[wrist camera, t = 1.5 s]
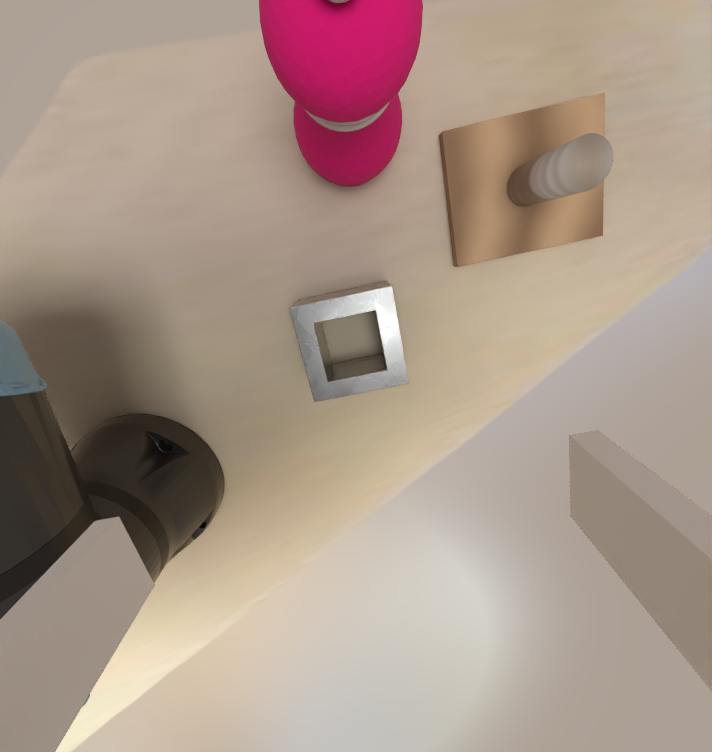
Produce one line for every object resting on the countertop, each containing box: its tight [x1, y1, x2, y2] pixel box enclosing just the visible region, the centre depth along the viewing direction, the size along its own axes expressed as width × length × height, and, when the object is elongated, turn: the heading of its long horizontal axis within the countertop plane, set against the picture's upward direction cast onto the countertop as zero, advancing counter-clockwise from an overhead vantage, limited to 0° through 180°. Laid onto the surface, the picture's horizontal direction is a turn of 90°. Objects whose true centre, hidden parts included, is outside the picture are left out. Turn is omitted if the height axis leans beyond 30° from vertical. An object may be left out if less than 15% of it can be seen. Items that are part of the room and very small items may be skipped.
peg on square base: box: [439, 93, 613, 267], centre depth 25 cm, size 12×10×9 cm
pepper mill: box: [259, 0, 423, 186], centre depth 19 cm, size 7×7×20 cm
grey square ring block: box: [289, 281, 409, 402], centre depth 31 cm, size 8×8×5 cm
